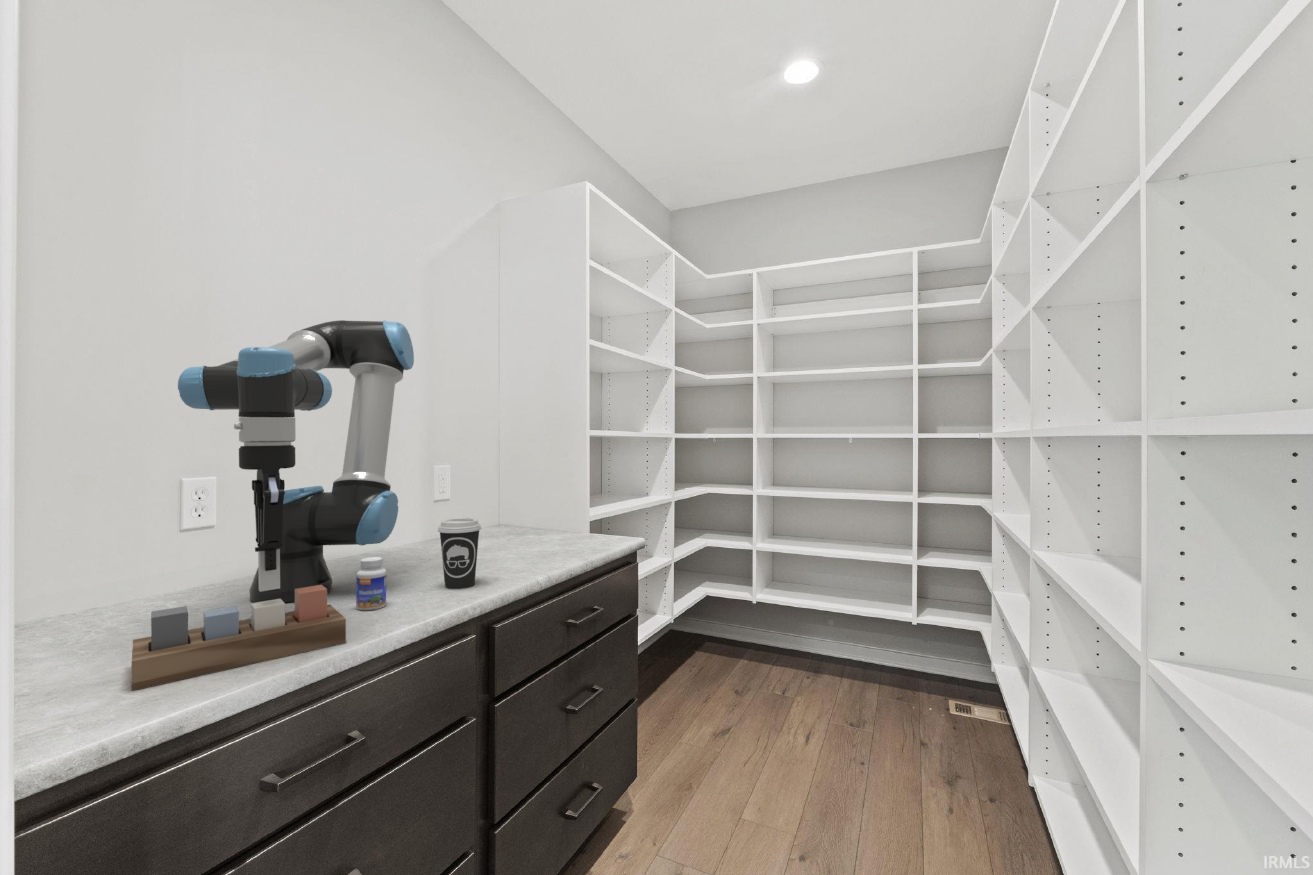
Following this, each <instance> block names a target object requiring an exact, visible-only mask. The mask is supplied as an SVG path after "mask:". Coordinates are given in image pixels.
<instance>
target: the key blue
mask: <svg viewBox="0 0 1313 875" xmlns="http://www.w3.org/2000/svg"><path fill="white" fill-rule="evenodd" d="M239 614H240V612H239V610H238V608H237V606H236V605H234V606H233V605H231V606H227V607H221V608H214V609H208V610H204V611H203V627H204V641H207V640H212V639H217V638H223V637H228V636H233V635H238V634H239V621H240V615H239Z"/></svg>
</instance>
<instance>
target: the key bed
mask: <svg viewBox="0 0 1313 875" xmlns="http://www.w3.org/2000/svg"><path fill="white" fill-rule="evenodd" d="M346 622H347V619H346V617H344V616H343V614H342V613H340V612H339V611H338V610H337V609H336V608H335V607H334V606H332V605H331V604H330V603H329V604H327V617H326V618H321V619H316V620H311V621H305V622H300V623H298V622H297V621H296V619H295V610H292V611H291V610H290V611H285V626H280V627H274V628H269V629H264V630H259V631H254V632H253V631H252V629H251V618H247V619H241V620H240V619H239V634H238V635H233V636H228V637H223V638H217V639H212V640H207V641H204V626H202V627H197V628H191V629H188V644H186V645H181V646H176V647H171V648H166V649H160V650H155V651H151V636H145V637H140V638H135V639H133V640H132V650H131V691H133V692H134V691H138V690H142V689H146V688H150V687H151V688H152V687H156V686H159V685H164V684H167V683H172V682H178V681H183V680H186V679H190V678H195V677H200V676H205V675H209V674H212V673H217V672H221V671H222V672H223V671H225V670H232V669H235V668H240V667H243V666H244V667H245V666H249V665H253V664H257V663H262V662H266V661H270V660H271V661H272V660H275V659H280V658H285V657H289V656H293V655H297V654H301V653H306V652H311V651H315V650H320V649H324V648H325V649H326V648H329V647H333V646H337V645H341V644H345V643H347V623H346Z"/></svg>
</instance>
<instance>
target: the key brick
mask: <svg viewBox="0 0 1313 875" xmlns="http://www.w3.org/2000/svg"><path fill="white" fill-rule="evenodd" d="M327 605H328V593H327V589H326V588H325V587H324V586H323V585H316V586H310V587H304V588H297V589H295V601H294V611H295V619H296V621H297V622H298V623H300V622H305V621H311V620H316V619H321V618H326V617H327Z"/></svg>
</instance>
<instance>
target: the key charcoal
mask: <svg viewBox="0 0 1313 875" xmlns="http://www.w3.org/2000/svg"><path fill="white" fill-rule="evenodd" d="M150 615H151V619H150V620H151V621H150V626H151V627H150V628H151V630H150V632H151V633H150V634H151V636H150V637H151V651H155V650H160V649H166V648H171V647H176V646H181V645H186V644H188V630H189V610H188V606H187V605H184V606H177V607H172V608H165V609H160V610H153V611H150Z"/></svg>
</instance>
